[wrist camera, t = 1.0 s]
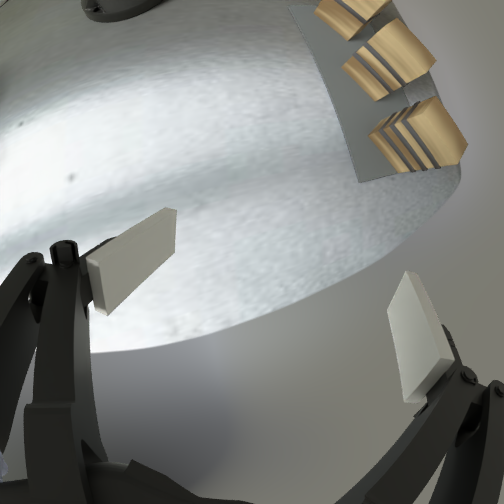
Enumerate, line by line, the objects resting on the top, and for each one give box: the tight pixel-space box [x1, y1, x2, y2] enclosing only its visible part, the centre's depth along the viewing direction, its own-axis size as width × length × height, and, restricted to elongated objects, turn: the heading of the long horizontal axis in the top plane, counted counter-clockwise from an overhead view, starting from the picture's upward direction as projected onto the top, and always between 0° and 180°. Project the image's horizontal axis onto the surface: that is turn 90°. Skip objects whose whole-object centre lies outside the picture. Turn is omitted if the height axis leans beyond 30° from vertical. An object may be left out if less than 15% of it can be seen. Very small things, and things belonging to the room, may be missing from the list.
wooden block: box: [341, 18, 436, 101], centre depth 27 cm, size 4×7×12 cm, turn 47°
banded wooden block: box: [314, 0, 392, 41], centre depth 25 cm, size 4×7×12 cm, turn 47°
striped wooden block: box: [368, 96, 468, 173], centre depth 29 cm, size 4×7×12 cm, turn 47°
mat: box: [288, 5, 410, 183], centre depth 33 cm, size 30×14×1 cm, turn 17°
